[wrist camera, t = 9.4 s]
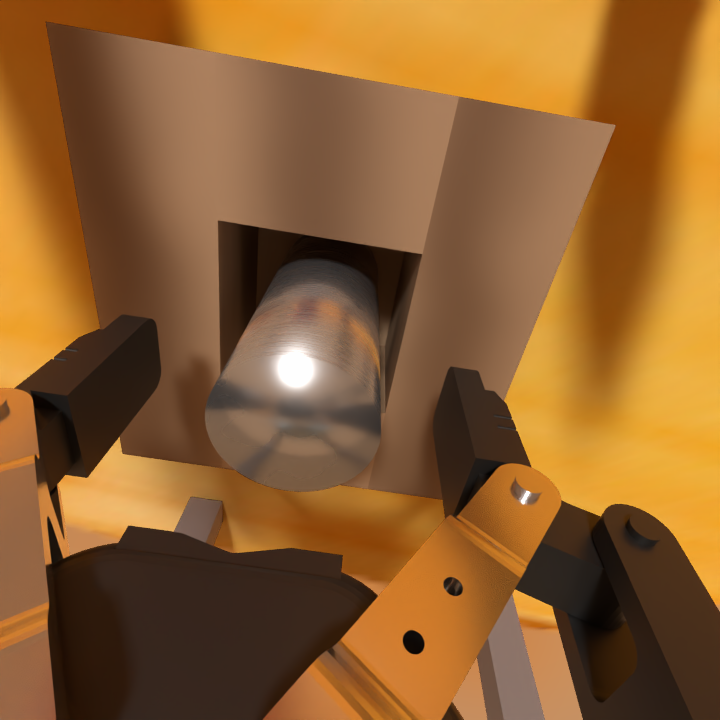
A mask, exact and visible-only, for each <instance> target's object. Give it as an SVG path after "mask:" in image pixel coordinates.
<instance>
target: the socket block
mask: <svg viewBox="0 0 720 720" xmlns="http://www.w3.org/2000/svg"><path fill="white" fill-rule="evenodd" d="M46 27H47V32H48V38H49V44H50V49H51V55H52V60H53V66H54V72H55V77H56V83H57V88H58V94H59V100H60V105H61V111H62V116H63V122H64V128H65V133H66V139H67V144H68V150H69V156H70V161H71V167H72V172H73V178H74V184H75V189H76V195H77V200H78V206H79V212H80V217H81V223H82V228H83V234H84V240H85V245H86V251H87V256H88V262H89V268H90V273H91V279H92V284H93V290H94V296H95V301H96V307H97V312H98V318H99V324H100V329H102V330H103V329H104V328H106V327H107V326H108V325H109V324H110V323H112V322H113V321H114V320H115V319H116V318H118V317H119V316H120V315H123V314H125V315H132V316H138V317H144V318H151V319H153V320H154V321H155V322H156V325H157V332H158V341H159V351H160V361H161V377H160V381H159V384H158V386H157V388H156V390H155V391H154V393H153V394H152V395H151V397H150V398H149V399H148V400H147V402H146V403H145V404H144V406H143V407H142V408H141V409H140V411H139V412H138V413H137V415H136V416H135V417H134V418H133V420H132V421H131V422H130V424H129V425H128V426H127V427H126V429H125V430H124V431H123V433H122V434H121V435H120V441H121V447H122V453H123V454H127V455H134V456H141V457H148V458H155V459H162V460H169V461H176V462H183V463H190V464H197V465H204V466H211V467H218V468H225V469H232V470H235V469H233V468H232V467H231V466H230V465H229V464H228V463H227V462H226V461H225V460H224V459H223V458H222V457H221V456H220V455H219V453H218V452H217V451H216V449H215V448H214V446H213V444H212V442H211V440H210V438H209V436H208V432H207V429H206V424H205V408H206V404H207V400H208V397H209V395H210V393H211V391H212V389H213V387H214V385H215V383H216V382H217V380H218V378H219V376H220V374H221V372H222V371H223V369H224V367H225V365H226V363H227V362H228V360H229V358H230V356H231V354H232V353H233V351H234V349H235V347H236V345H237V344H238V342H239V340H240V338H241V336H242V334H243V333H244V331H245V329H246V327H247V325H248V324H249V322H250V320H251V318H252V316H253V315H254V313H255V311H256V309H257V307H258V306H259V304H260V302H261V300H262V298H263V296H264V295H265V293H266V291H267V289H268V287H269V286H270V284H271V282H272V280H273V278H274V277H275V275H276V273H277V271H278V269H279V268H280V266H281V264H282V262H283V260H284V258H285V257H286V255H287V253H288V251H289V250H290V248H291V246H292V245H293V244H294V243H295V242H296V241H297V240H298V239H299V238H300V237H301V236H303V235H310V236H316V237H322V238H328V239H334V240H340V241H346V242H352V243H358V244H364V245H367V246H368V247H369V249H370V250H371V252H372V253H373V255H374V258H375V260H376V264H377V268H378V298H379V347H380V396H381V438H380V444H379V447H378V449H377V452H376V454H375V456H374V457H373V459H372V460H371V462H370V463H369V464H368V466H367V467H366V468H365V469H364V470H363V471H362V472H360V473H359V474H358V475H356V476H355V477H354V478H352V479H350V480H348V481H347V482H345V483H342V484H340V485H344V486H351V487H358V488H365V489H372V490H379V491H386V492H393V493H400V494H407V495H414V496H421V497H428V498H435V499H442V493H441V486H440V479H439V472H438V465H437V458H436V451H435V444H434V437H433V419H434V414H435V410H436V406H437V403H438V400H439V397H440V393H441V390H442V387H443V384H444V380H445V377H446V374H447V371H448V369H449V368H450V367H451V366H452V367H458V368H465V369H471V370H477V371H478V372H479V374H480V377H481V380H482V383H483V385H484V388H485V390H490V391H495V392H496V393H497V395H498V396H499V397H500V398H501V399H502V400H503V401H504V399H505V397H506V394H507V392H508V389H509V387H510V384H511V382H512V379H513V377H514V375H515V372H516V370H517V367H518V365H519V362H520V360H521V357H522V355H523V352H524V350H525V347H526V345H527V343H528V340H529V338H530V335H531V333H532V330H533V328H534V325H535V323H536V320H537V318H538V316H539V313H540V311H541V308H542V306H543V303H544V301H545V298H546V296H547V293H548V291H549V289H550V286H551V284H552V281H553V279H554V276H555V274H556V271H557V269H558V266H559V264H560V261H561V259H562V257H563V254H564V252H565V249H566V247H567V244H568V242H569V239H570V237H571V234H572V232H573V230H574V227H575V225H576V222H577V220H578V217H579V215H580V212H581V210H582V207H583V205H584V203H585V200H586V198H587V195H588V193H589V190H590V188H591V185H592V183H593V180H594V178H595V176H596V173H597V171H598V168H599V166H600V163H601V161H602V158H603V156H604V153H605V151H606V148H607V146H608V144H609V141H610V139H611V136H612V134H613V131H614V129H615V126H616V125H612V124H606V123H601V122H595V121H590V120H584V119H579V118H573V117H568V116H562V115H557V114H551V113H546V112H540V111H535V110H529V109H524V108H518V107H513V106H507V105H502V104H496V103H491V102H485V101H480V100H474V99H469V98H463V97H458V96H452V95H447V94H441V93H436V92H430V91H425V90H419V89H414V88H408V87H403V86H397V85H392V84H386V83H381V82H375V81H370V80H364V79H359V78H353V77H348V76H342V75H337V74H331V73H326V72H320V71H315V70H309V69H304V68H298V67H293V66H287V65H282V64H276V63H271V62H265V61H260V60H254V59H249V58H243V57H238V56H232V55H227V54H221V53H216V52H210V51H205V50H199V49H194V48H188V47H183V46H177V45H172V44H166V43H161V42H155V41H150V40H144V39H139V38H133V37H128V36H122V35H117V34H111V33H106V32H100V31H95V30H89V29H84V28H78V27H73V26H67V25H62V24H56V23H51V22H46Z"/></svg>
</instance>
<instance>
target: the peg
mask: <svg viewBox="0 0 720 720" xmlns="http://www.w3.org/2000/svg"><path fill="white" fill-rule="evenodd" d="M205 424H206V429H207V432H208V436H209V438H210V440H211V442H212V444H213V446H214V448H215V449H216V451H217V452H218V453H219V455H220V456H221V457H222V458H223V459H224V460H225V461H226V462H227V463H228V464H229V465H230V466H231V467H232V468H233V469H235V470H236V471H237V472H239V473H240V474H242V475H244V476H245V477H247V478H249V479H251V480H253V481H255V482H257V483H260V484H262V485H265V486H268V487H272V488H276V489H281V490H286V491H296V492H308V491H318V490H323V489H328V488H331V487H335V486H338V485H340V484H342V483H345V482H347V481H348V480H350V479H352V478H354V477H355V476H356V475H358V474H359V473H360V472H362V471H363V470H364V469H365V468H366V467H367V466H368V464H369V463H370V462H371V460H372V459H373V457H374V456H375V454H376V452H377V449H378V447H379V444H380V438H381V396H380V347H379V298H378V268H377V264H376V260H375V258H374V255H373V253H372V252H371V250H370V249H369V247H368V246H367V245H364V244H358V243H352V242H346V241H340V240H334V239H328V238H322V237H316V236H310V235H303V236H301V237H300V238H299V239H298V240H297V241H296V242H295V243H294V244H293V245H292V246H291V248H290V250H289V251H288V253H287V255H286V257H285V258H284V260H283V262H282V264H281V266H280V268H279V269H278V271H277V273H276V275H275V277H274V278H273V280H272V282H271V284H270V286H269V287H268V289H267V291H266V293H265V295H264V296H263V298H262V300H261V302H260V304H259V306H258V307H257V309H256V311H255V313H254V315H253V316H252V318H251V320H250V322H249V324H248V325H247V327H246V329H245V331H244V333H243V334H242V336H241V338H240V340H239V342H238V344H237V345H236V347H235V349H234V351H233V353H232V354H231V356H230V358H229V360H228V362H227V363H226V365H225V367H224V369H223V371H222V372H221V374H220V376H219V378H218V380H217V382H216V383H215V385H214V387H213V389H212V391H211V393H210V395H209V397H208V400H207V404H206V408H205Z"/></svg>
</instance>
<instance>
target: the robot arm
mask: <svg viewBox="0 0 720 720" xmlns="http://www.w3.org/2000/svg"><path fill="white" fill-rule="evenodd" d="M160 377H161V361H160V351H159V341H158V332H157V325H156V322H155V321H154V320H153V319H151V318H144V317H138V316H132V315H125V314H123V315H120V316H119V317H118V318H116V319H115V320H114V321H113V322H112V323H110V324H109V325H108V326H107V327H106V328H104V329H103V330H102V329H98V330H96V331H93V332H91V333H88V334H86V335H83V336H81V337H79V338H78V339H76V340H75V341H74V342H73V343H71V344H70V345H69V346H67V347H66V350H62V351H61V352H60V353H59V354H57V355H56V356H55V357H54V360H53V359H51V360H50V361H48V362H47V363H46V364H45V365H43V366H42V367H41V368H40V369H38V370H37V371H36V372H35V373H33V374H32V375H31V376H29V377H28V378H27V379H26V380H24V381H23V382H22V383H21V384H19V385H18V386H17V387H16V388H14V389H13V388H0V720H464V719H463V717H462V716H461V715H460V713H459V711H458V710H457V709H456V707H455V705H454V704H453V703H452V700H453V698H454V697H455V695H456V693H457V691H458V689H459V688H460V686H461V684H462V682H463V681H464V679H465V677H466V675H467V674H468V672H469V670H470V668H471V666H472V665H473V663H474V661H475V659H476V657H477V656H478V654H479V652H480V650H481V649H482V647H483V645H484V643H485V641H486V640H487V638H488V636H489V634H490V632H491V631H492V629H493V627H494V625H495V624H496V622H497V620H498V618H499V616H500V615H501V613H502V611H503V609H504V607H505V606H506V604H507V602H508V600H509V599H510V597H511V595H512V593H513V591H514V590H515V589H516V590H518V591H520V592H522V593H524V594H527V595H529V596H531V597H533V598H535V599H538V600H540V601H542V602H544V603H546V604H549V605H551V606H552V607H553V611H554V614H555V618H556V622H557V625H558V629H559V633H560V637H561V640H562V643H563V648H564V651H565V655H566V658H567V662H568V666H569V670H570V673H571V677H572V680H573V684H574V688H575V691H576V695H577V699H578V702H579V706H580V710H581V713H582V717H583V720H720V612H719V610H718V608H717V607H716V605H715V603H714V602H713V600H712V598H711V596H710V595H709V593H708V591H707V590H706V588H705V586H704V585H703V583H702V581H701V580H700V578H699V576H698V575H697V573H696V571H695V570H694V568H693V566H692V565H691V563H690V561H689V560H688V558H687V556H686V555H685V553H684V551H683V550H682V548H681V546H680V545H679V543H678V541H677V540H676V538H675V537H674V535H673V534H672V533H671V532H670V530H669V529H668V528H667V527H666V526H665V525H664V524H663V523H661V522H660V521H659V520H658V519H656V518H655V517H653V516H652V515H650V514H648V513H647V512H645V511H643V510H641V509H639V508H636V507H633V506H629V505H625V504H614V505H611V506H609V507H608V508H607V509H606V510H605V511H604V513H603V514H602V516H601V517H600V516H598V515H595V514H593V513H590V512H588V511H585V510H583V509H580V508H578V507H575V506H572V505H570V504H568V503H566V502H564V501H562V500H561V496H560V493H559V491H558V489H557V488H556V486H555V485H554V484H553V482H551V481H550V480H549V479H548V478H547V477H546V476H545V475H543V474H542V473H540V472H539V471H537V470H535V469H533V468H532V467H531V465H530V462H529V460H528V457H527V455H526V452H525V449H524V447H523V444H522V442H521V439H520V437H519V434H518V432H517V431H516V427H515V424H514V422H513V420H511V418H512V417H511V414H510V412H509V409H508V407H507V404H506V403H505V402H504V401H503V400H502V399H501V398H500V397H499V396H498V395H497V393H496V392H495V391H490V390H485V388H484V385H483V383H482V380H481V377H480V374H479V372H478V371H477V370H471V369H465V368H458V367H452V366H451V367H450V368H449V369H448V371H447V374H446V377H445V380H444V384H443V387H442V390H441V393H440V397H439V400H438V403H437V406H436V410H435V414H434V419H433V437H434V444H435V451H436V458H437V465H438V472H439V479H440V486H441V493H442V500H443V507H444V514H445V520H444V521H443V522H442V523H441V524H440V525H439V527H438V528H437V529H436V530H435V531H434V532H433V534H432V535H431V536H430V537H429V538H428V539H427V540H426V542H425V543H424V544H423V545H422V546H421V547H420V549H419V550H418V551H417V552H416V553H415V554H414V555H413V557H412V558H411V559H410V560H409V561H408V562H407V564H406V565H405V566H404V567H403V568H402V569H401V571H400V572H399V573H398V574H397V575H396V576H395V577H394V579H393V580H392V581H391V582H390V583H389V584H388V586H387V587H386V588H385V589H384V590H383V591H382V592H381V594H380V595H379V596H378V595H377V594H376V593H374V592H373V591H372V590H371V589H370V588H368V587H367V586H365V585H364V584H363V583H361V582H360V581H358V580H356V579H354V578H353V577H351V576H349V575H346V574H344V573H342V572H341V568H342V557H343V555H337V554H330V553H322V552H315V551H308V550H301V549H294V548H287V549H276V550H266V551H255V552H245V553H230V552H227V551H225V550H222V549H220V548H217V547H215V546H212V545H210V544H208V543H205V542H203V541H200V540H198V539H195V538H193V537H191V536H188V535H186V534H183V533H179V532H171V531H164V530H157V529H150V528H143V527H135V526H128V528H127V529H126V531H125V533H124V534H123V536H122V538H121V539H120V541H119V543H113V544H107V545H102V546H97V547H94V548H90V549H87V550H84V551H81V552H78V553H76V554H73V555H70V552H69V546H68V540H67V532H66V526H65V519H64V512H63V506H62V499H61V493H60V489H59V486H58V483H59V482H60V481H61V479H62V478H63V477H64V476H65V475H71V476H78V477H85V478H87V477H88V476H89V475H90V474H91V472H92V471H93V470H94V468H95V467H96V466H97V465H98V463H99V462H100V461H101V459H102V458H103V457H104V456H105V454H106V453H107V452H108V450H109V449H110V448H111V447H112V445H113V444H114V443H115V441H116V440H117V439H118V438H119V436H120V435H121V434H122V433H123V431H124V430H125V429H126V427H127V426H128V425H129V424H130V422H131V421H132V420H133V418H134V417H135V416H136V415H137V413H138V412H139V411H140V409H141V408H142V407H143V406H144V404H145V403H146V402H147V400H148V399H149V398H150V397H151V395H152V394H153V393H154V391H155V390H156V388H157V386H158V384H159V381H160Z"/></svg>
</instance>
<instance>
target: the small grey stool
mask: <svg viewBox="0 0 720 720" xmlns="http://www.w3.org/2000/svg"><path fill="white" fill-rule="evenodd" d="M222 522H223V519H222V501H216V500H209V499H202V498H195V497H190V499H189V501H188V503H187V506H186V508H185V510H184V512H183V514H182V516H181V518H180V520H179V522H178V524H177V526H176V528H175V531H174V532H179V533H183V534H186V535H188V536H191V537H193V538H195V539H198V540H200V541H203V542H205V543H208V544H210V545H212V546H214V543H215V540H216V538H217V535H218V533H219V530H220V527H221V525H222ZM477 659H478V666H479V671H480V677H481V682H482V689H483V695H484V700H485V707H486V713H487V719H488V720H545V718H544V715H543V711H542V707H541V703H540V699H539V695H538V692H537V688H536V684H535V680H534V676H533V672H532V668H531V665H530V661H529V657H528V653H527V649H526V645H525V642H524V638H523V634H522V630H521V626H520V622H519V618H518V615H517V611H516V607H515V603H514V599H513V595H511V597H510V599H509V600H508V602H507V604H506V606H505V607H504V609H503V611H502V613H501V615H500V616H499V618H498V620H497V622H496V624H495V625H494V627H493V629H492V631H491V632H490V634H489V636H488V638H487V640H486V641H485V643H484V645H483V647H482V649H481V650H480V652H479V654H478V656H477Z"/></svg>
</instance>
